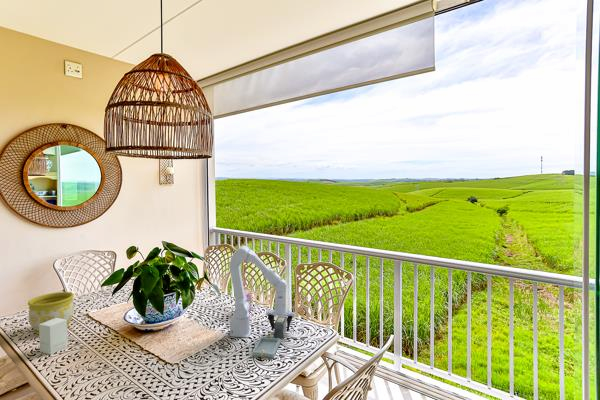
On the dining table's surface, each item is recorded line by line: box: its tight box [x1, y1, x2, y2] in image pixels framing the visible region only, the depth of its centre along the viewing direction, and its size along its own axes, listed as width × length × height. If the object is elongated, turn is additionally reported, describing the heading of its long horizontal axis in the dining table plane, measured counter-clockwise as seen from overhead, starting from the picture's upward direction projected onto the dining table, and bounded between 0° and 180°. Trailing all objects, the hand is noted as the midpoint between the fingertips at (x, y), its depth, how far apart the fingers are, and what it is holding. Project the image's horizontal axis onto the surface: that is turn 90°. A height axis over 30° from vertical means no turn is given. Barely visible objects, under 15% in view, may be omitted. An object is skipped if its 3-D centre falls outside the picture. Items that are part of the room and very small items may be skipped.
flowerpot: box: [27, 291, 75, 335], centre depth 150 cm, size 18×18×16 cm
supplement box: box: [38, 318, 69, 355], centre depth 132 cm, size 7×7×13 cm
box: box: [244, 289, 252, 312], centre depth 172 cm, size 10×6×12 cm, turn 168°
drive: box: [273, 316, 288, 339], centre depth 147 cm, size 4×8×7 cm, turn 171°
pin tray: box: [251, 333, 281, 360], centre depth 133 cm, size 10×15×4 cm, turn 171°
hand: (280, 330), depth 147 cm, fingers open, 7 cm apart
